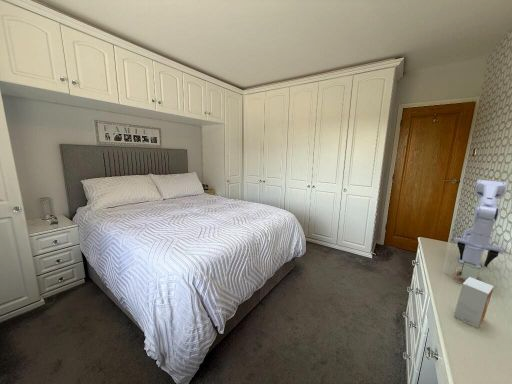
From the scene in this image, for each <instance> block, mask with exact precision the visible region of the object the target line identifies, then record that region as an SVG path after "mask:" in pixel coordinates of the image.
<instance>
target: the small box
mask: <svg viewBox="0 0 512 384" xmlns="http://www.w3.org/2000/svg"><path fill="white" fill-rule="evenodd" d="M494 287H495V286H494V285H492V284H489V283H487V282H484V281H479V280H476V279H474V278H471V277H469V278H468V279H466V280H465V282H464V283H463V284H462V285H461V287H460V292H459V295H458V299H457V303H456V307H455V311H454V313H453V317H454V318H457V319H458V320H460V321H463V322H464V323H466V324H469V326H472V327H474V328H477V329H479V328H480V326H481V324H482V323H483V321H484V320H485V318H486V313H487V310H488V307H489V305H490V300H491V298H492V294H493V291H494Z"/></svg>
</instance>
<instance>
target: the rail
mask: <svg viewBox="0 0 512 384" xmlns="http://www.w3.org/2000/svg"><path fill="white" fill-rule="evenodd" d="M464 263H468V264H471V265H475V266H476V264H474V263H470V262H467V261H464V262H463V263H462V267H461V268H460V267H457V266H456V268H455V280H454V281H455V283H458V284H463V283H464V282H465V279H462V278H461V274H462V270H463V266H464ZM477 280H479V281H481V277H480V274H479V273H478V277H477Z"/></svg>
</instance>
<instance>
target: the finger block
mask: <svg viewBox="0 0 512 384" xmlns="http://www.w3.org/2000/svg"><path fill="white" fill-rule="evenodd" d="M462 266H463V265H462ZM479 273H480V268H479V267H478V266H475V265H471V264H468V263H464V266H463V270H462V274H461V278H462V279H465V280H466V279H468V278H469V277H471V278H474V279H476V280H477V277H478V274H479Z"/></svg>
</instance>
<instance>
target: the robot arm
mask: <svg viewBox="0 0 512 384" xmlns="http://www.w3.org/2000/svg"><path fill="white" fill-rule="evenodd" d="M506 190H507V181H495V180H486V179H485V180H484V179H477V180H476V184H475V188H474V196H476V197H478V203H477V206H476V208H475V211H474V219H473V225H472V227H470V228H467V229H465V230H464V232H463V234H462V238H461V237H455V238H454V243H456V244H457V248H458V250H459V251H458V252H459V259H458V261H459V262H458V263H461V264H463V262H464V261H467V262H470V263H474V264H476V266H478V267H479V269H481V268H482V267H481V266H482V265H481V261H482V256H483V252H484V251H487V255H486V258H485V261H484V264H483V267H485V268H488V266H489V264H490V263H491V262H492V261H493V260H494V259H495V258H497V257H499V254H500V255H503V253H504V248H502V247H499V246H495V245H492V244H491V238H492V231H493V228H494V226H495V225H494V224H495V223H496V221H497V220H498V217H499V215H500V208H499V201H498V200H499V199H501V198H502V197H503V196H504V194H505V192H506Z"/></svg>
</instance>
